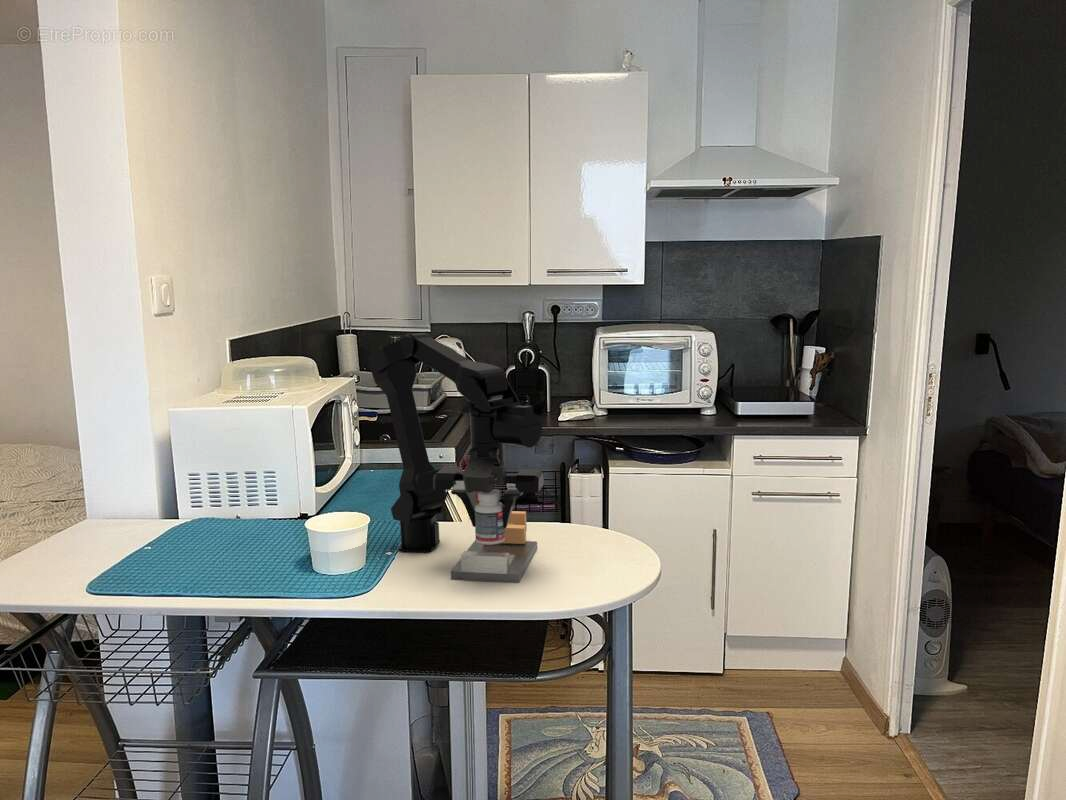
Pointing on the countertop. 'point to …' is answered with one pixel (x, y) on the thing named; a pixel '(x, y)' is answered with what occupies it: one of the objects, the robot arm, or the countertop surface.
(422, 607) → the countertop surface
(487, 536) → the pill bottle
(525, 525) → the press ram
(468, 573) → the silver frame
